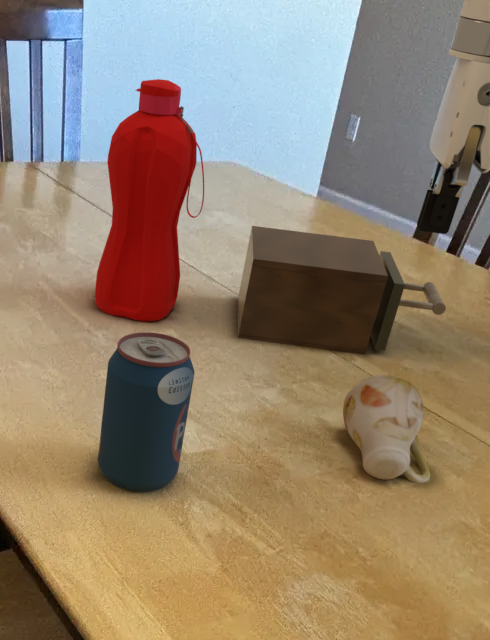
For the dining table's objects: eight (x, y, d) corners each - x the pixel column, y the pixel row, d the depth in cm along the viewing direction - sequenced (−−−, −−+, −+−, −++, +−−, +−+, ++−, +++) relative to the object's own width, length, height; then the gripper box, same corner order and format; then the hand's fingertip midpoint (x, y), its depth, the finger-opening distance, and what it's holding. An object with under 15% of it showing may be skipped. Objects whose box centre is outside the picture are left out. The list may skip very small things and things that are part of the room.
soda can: (188, 494, 74) (212, 363, 67) (110, 502, 72) (126, 368, 65) (159, 452, 79) (178, 327, 72) (86, 458, 77) (98, 330, 70)
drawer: (418, 320, 109) (438, 258, 104) (435, 357, 99) (458, 291, 95) (264, 300, 110) (277, 237, 105) (267, 335, 101) (281, 268, 96)
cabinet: (352, 317, 110) (373, 240, 104) (364, 357, 100) (388, 275, 94) (237, 302, 111) (251, 225, 105) (237, 340, 101) (253, 258, 95)
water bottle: (174, 333, 101) (210, 96, 86) (86, 314, 104) (105, 80, 89) (194, 307, 108) (230, 83, 94) (111, 290, 111) (133, 69, 96)
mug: (344, 489, 77) (343, 374, 76) (343, 482, 86) (342, 379, 85) (435, 486, 75) (436, 368, 74) (424, 480, 84) (424, 375, 83)
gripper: (552, 57, 80) (480, 256, 91) (511, 38, 92) (452, 216, 103) (469, 47, 80) (408, 246, 91) (439, 29, 92) (388, 207, 103)
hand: (431, 230), depth 97 cm, fingers closed
